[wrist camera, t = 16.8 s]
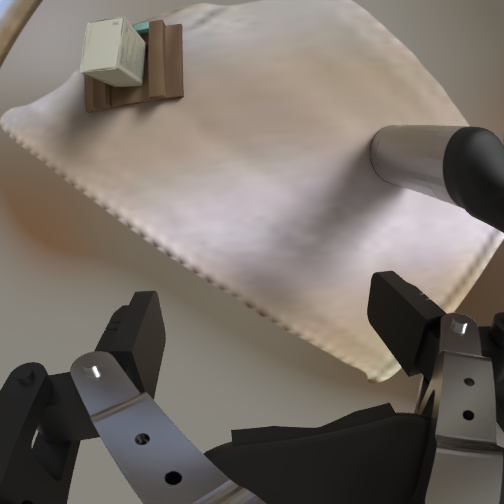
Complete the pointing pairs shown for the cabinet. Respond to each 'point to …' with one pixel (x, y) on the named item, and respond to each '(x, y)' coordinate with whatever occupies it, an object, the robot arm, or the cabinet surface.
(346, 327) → the cabinet surface
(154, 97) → the rack
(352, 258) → the cabinet surface
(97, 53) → the skincare box
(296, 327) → the cabinet surface
